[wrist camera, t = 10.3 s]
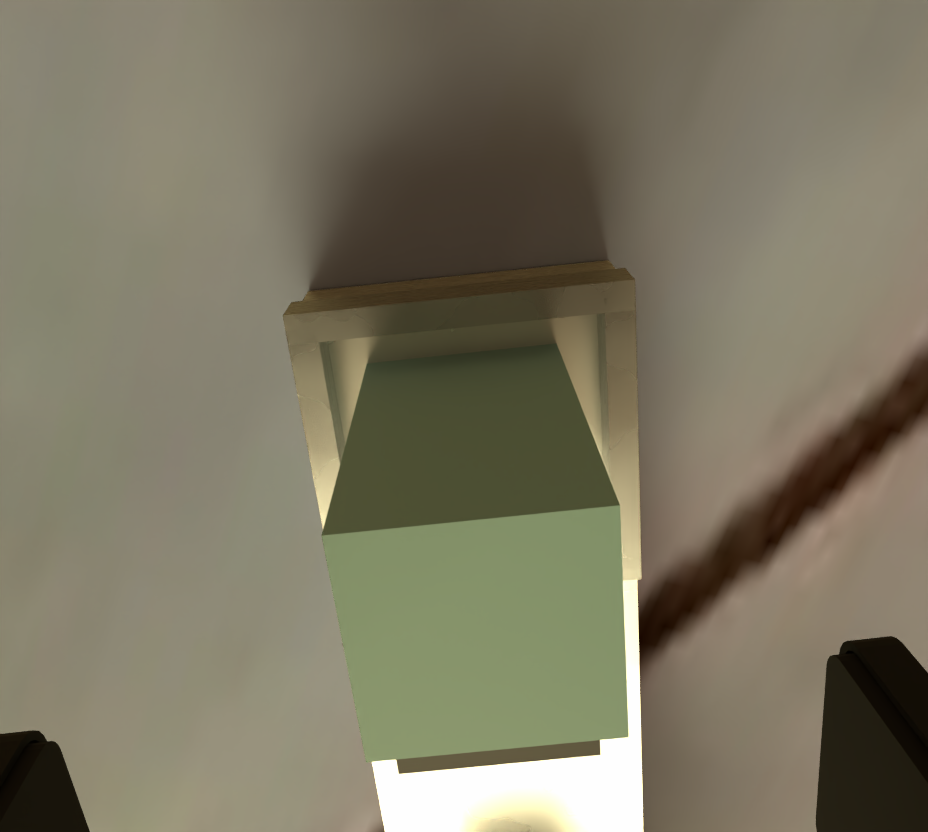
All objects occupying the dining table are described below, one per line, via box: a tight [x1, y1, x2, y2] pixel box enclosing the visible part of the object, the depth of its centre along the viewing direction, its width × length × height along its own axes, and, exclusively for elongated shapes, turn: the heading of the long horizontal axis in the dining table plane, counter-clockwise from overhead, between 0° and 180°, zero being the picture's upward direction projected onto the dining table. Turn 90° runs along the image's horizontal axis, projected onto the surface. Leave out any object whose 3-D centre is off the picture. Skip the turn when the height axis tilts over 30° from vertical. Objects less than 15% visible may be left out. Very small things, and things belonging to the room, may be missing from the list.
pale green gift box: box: [322, 343, 629, 774], centre depth 15 cm, size 4×5×7 cm
